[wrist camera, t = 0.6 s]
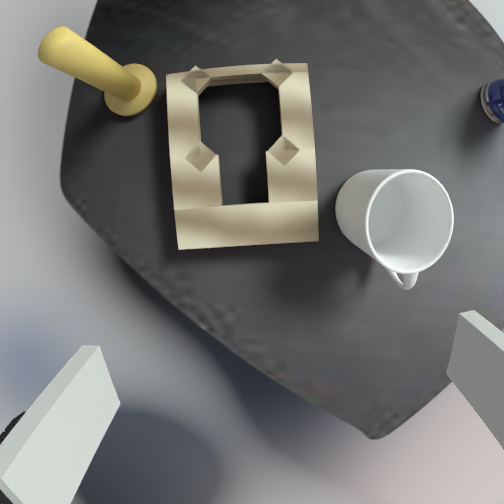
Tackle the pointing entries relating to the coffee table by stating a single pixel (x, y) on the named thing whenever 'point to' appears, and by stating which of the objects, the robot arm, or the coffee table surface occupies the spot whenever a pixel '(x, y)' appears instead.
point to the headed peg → (100, 71)
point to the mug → (396, 219)
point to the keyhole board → (277, 160)
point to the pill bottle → (494, 100)
